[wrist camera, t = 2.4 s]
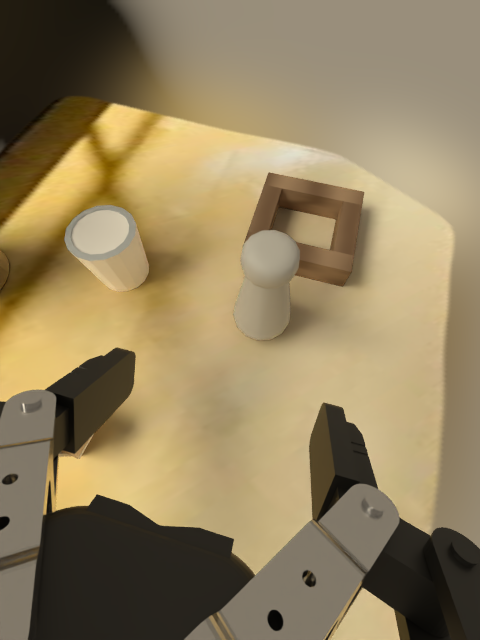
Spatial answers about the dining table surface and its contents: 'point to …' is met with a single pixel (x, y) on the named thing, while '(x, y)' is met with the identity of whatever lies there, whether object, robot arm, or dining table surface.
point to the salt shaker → (266, 284)
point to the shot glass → (109, 246)
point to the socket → (320, 202)
